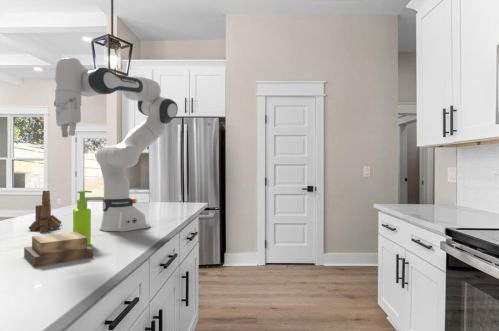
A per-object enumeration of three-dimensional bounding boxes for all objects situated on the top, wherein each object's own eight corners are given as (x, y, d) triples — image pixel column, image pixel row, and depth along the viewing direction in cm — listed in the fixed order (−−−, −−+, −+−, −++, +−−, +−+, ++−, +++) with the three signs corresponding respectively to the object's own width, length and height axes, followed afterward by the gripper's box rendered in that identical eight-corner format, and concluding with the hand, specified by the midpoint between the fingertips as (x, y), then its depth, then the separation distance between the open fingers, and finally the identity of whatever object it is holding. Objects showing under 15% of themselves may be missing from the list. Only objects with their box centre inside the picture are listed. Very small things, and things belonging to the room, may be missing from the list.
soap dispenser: (96, 243, 130) (96, 190, 130) (81, 247, 123) (82, 191, 123) (84, 241, 132) (84, 190, 132) (69, 245, 125) (69, 191, 125)
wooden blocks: (59, 232, 151) (60, 192, 151) (26, 234, 146) (27, 192, 146) (62, 223, 174) (62, 188, 174) (33, 225, 168) (34, 189, 168)
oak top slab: (75, 241, 119) (75, 231, 119) (87, 248, 110) (87, 237, 110) (31, 247, 110) (32, 236, 111) (40, 255, 101) (40, 243, 101)
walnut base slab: (77, 250, 121) (77, 240, 121) (92, 259, 109) (92, 248, 110) (24, 258, 110) (24, 247, 110) (34, 269, 99) (34, 257, 99)
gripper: (85, 97, 125) (85, 135, 125) (70, 104, 140) (70, 138, 140) (66, 95, 121) (66, 134, 121) (53, 103, 136) (52, 137, 136)
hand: (68, 136), depth 131 cm, fingers open, 8 cm apart
